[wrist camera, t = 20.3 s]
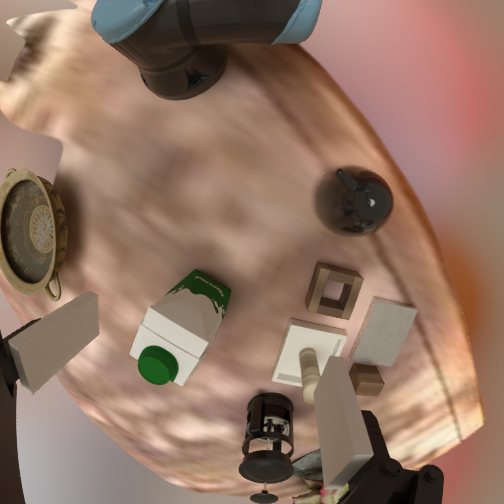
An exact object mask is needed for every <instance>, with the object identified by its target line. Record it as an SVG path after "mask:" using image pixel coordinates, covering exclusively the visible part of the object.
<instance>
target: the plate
mask: <svg viewBox="0 0 504 504" xmlns="http://www.w3.org/2000/svg"><path fill="white" fill-rule="evenodd" d="M417 311H418V309H417V308H415V307H414V306H412V305H408V304H404V303H400V302H395V301H391V300H387V299H383V298H378V297H374V296H373V297H372V300H371V303H370V305H369V308H368V311H367V313H366V316H365V318H364V321H363V323H362V326H361V328H360V331H359V333H358V335H357V338H356V340H355V342H354V345H353V347H352V349H351V351H350V354H349V357H350V359H351V361H355V362H362V363H369V364H376V365H384V366H392V365H393V363H394V361H395V360H396V358H397V356H398V354H399V352H400V349H401V347H402V345H403V343H404V341H405V339H406V337H407V335H408V332H409V330H410V328H411V326H412V323H413V321H414V319H415V316H416V314H417Z"/></svg>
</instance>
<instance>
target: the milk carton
mask: <svg viewBox="0 0 504 504" xmlns="http://www.w3.org/2000/svg"><path fill="white" fill-rule="evenodd" d="M230 293H231V290H230V289H228V288H227V287H225V286H223V285H221V284H220V283H218V282H216V281H214V280H213V279H211V278H209V277H208V276H206V275H204V274H202V273H201V272H199V271H197V270H196V269H195V270H194V271H193V272H191V273H190V274H189V275H188V276H187V277H185V278H184V279H183V280H182V281H181V282H180V283H178V284H177V285H176V286H175V287H174V288H173V289H172V290H170V291H169V292H168V293H167V294H166V295H165V296H164V297H163V298H162V299H161V300H159V301H158V302H157V303H156V304H155V305H153V306H150V307H149V308H148V310H147V313H146V315H145V316H144V318H143V320H142V322H141V324H140V326H139V329H138V332H137V335H136V337H135V340H134V343H133V346H132V348H131V351H130V355H131V356H133V357H134V358H136V359H138V361H139V362H138V369H139V372H140V374H141V375H142V377H143V378H144V379H146V380H147V381H148V382H150V383H152V384H155V385H164V384H166V383H167V382H168V381H169V380H170V381H172V382H175V383H177V384H178V385H180V386H183V385H184V384H185V383H186V381H187V380H188V379H189V378H190V376H191V375H192V374H193V373H194V371H195V370H196V369H197V367H198V366H199V365H200V363H201V362H202V360H203V359H204V357H205V356H206V354H207V353H208V351H209V350H210V348H211V347H210V345H211V344H212V342H213V340H214V338H215V336H216V333H217V331H218V329H219V327H220V324H221V322H222V320H223V317H224V314H225V311H226V307H227V304H228V300H229V297H230ZM209 347H210V348H209ZM208 349H209V350H208ZM207 350H208V351H207Z"/></svg>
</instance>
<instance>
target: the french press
mask: <svg viewBox="0 0 504 504" xmlns="http://www.w3.org/2000/svg"><path fill="white" fill-rule="evenodd" d="M266 405H277V406H281V407H283V408H285V409H286V410H287V412H286V414H285V415H284V416H283V417H281V416H277V415H271V414H265V410H266ZM247 410H248V415H247V421H248V422H247V428H246V435H245V440H244V442H243V446H242V452H243V454H244V455H245V457H244V459H243V462H242V463H241V464H240V466H239V473H240V474H241V476H243V477H244V478H246V479H247V480H250V481H253V482H257V483H264V490H262V493H258V494H254V495H252V496H251V497H250V500H251V501H253V502H255V503H259V504H271V503H274V502H276V501H278V497H277V496H275V495H273V494H268V491H267V490H266V484H270V483H278V482H282V481H285V480H287V479H289V478H290V477H291V476H292V475H293V473H294V467H293V465H292V464H291V459H290V457H291V456H292V454H293V452H294V445H293V414H292V413H293V404H292V402H291V401H290V400H289V399H288V398H287V397H285V396H284V395H281V394H278V393H263V394H260V395H257V396H255V397H254V398H252V399H251V401H250V402H249V404H248V408H247ZM288 436H289V437H288ZM253 439H255V440H258V441H260V442H266V443H267V450H260V451H255V452H251V453H248V451H249V443H250V441H251V440H253ZM282 440H284V441H286V442H287V443H289V444H290V445H291V446H292V449H291V451H290V452H289V453H287V454H284V453H281V441H282ZM269 443H273V450H269Z"/></svg>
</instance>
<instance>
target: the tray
mask: <svg viewBox="0 0 504 504" xmlns="http://www.w3.org/2000/svg"><path fill="white" fill-rule="evenodd" d="M347 337H348V336H347V334H346V332H345V330H343V329H338V328H333V327H329V326H324V325H319V324H314V323H310V322H305V321H301V320H296V319H292V318H290V321H289V324H288V327H287V331H286V334H285V337H284V340H283V343H282V346H281V349H280V351H279V354H278V357H277V360H276V363H275V366H274V369H273V372H272V381H274V382H279V383H284V384H290V385H295V386H301V387H302V378H301V369H300V360H299V353H300V351H301V350H302V349H304V348H312V349H314V350H315V352H316V357H317V361H318V366H319V371H320V376H321V375H322V373H323V370H324V368H325V366H326V363H327V361H328V359H329V356H330V355H331V356H337V357H339V356H340V353H341V351H342V349H343V346H344V344H345V342H346V339H347Z"/></svg>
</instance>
